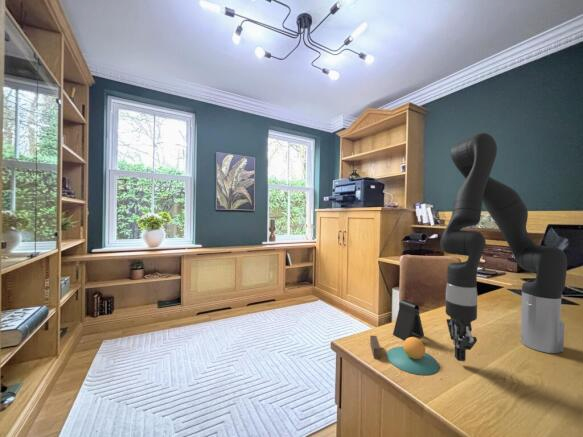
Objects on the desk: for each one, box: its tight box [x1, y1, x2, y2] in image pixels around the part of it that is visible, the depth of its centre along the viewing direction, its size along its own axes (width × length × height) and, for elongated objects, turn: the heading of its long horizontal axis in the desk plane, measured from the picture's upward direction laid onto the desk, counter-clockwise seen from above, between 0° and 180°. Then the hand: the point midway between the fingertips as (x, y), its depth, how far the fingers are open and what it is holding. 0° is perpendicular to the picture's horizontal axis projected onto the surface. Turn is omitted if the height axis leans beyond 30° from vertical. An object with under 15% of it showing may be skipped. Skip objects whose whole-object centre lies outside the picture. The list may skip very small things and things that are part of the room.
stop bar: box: [369, 335, 382, 359], centre depth 80 cm, size 2×8×3 cm, turn 170°
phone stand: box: [392, 299, 425, 341], centre depth 90 cm, size 9×6×12 cm, turn 118°
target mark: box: [386, 346, 440, 376], centre depth 75 cm, size 14×14×1 cm
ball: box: [402, 337, 426, 359], centre depth 76 cm, size 6×6×6 cm
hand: (459, 359), depth 73 cm, fingers closed
